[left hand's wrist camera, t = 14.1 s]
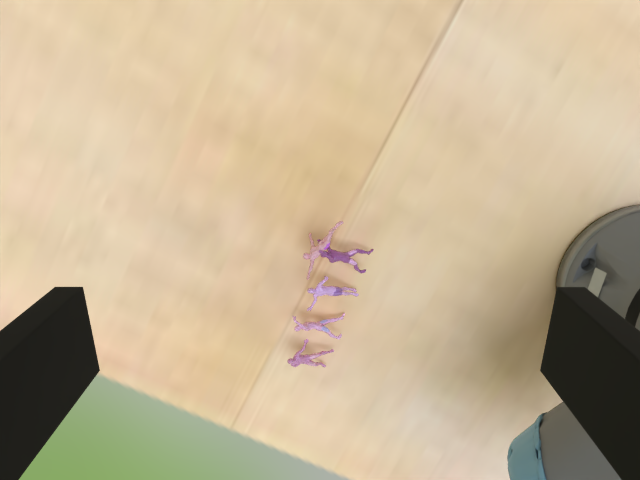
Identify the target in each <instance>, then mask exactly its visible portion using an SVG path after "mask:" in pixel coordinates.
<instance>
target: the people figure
mask: <svg viewBox="0 0 640 480" xmlns="http://www.w3.org/2000/svg"><path fill="white" fill-rule="evenodd" d="M341 224H343V221H340V222H338V223H337V224H336V226H335V227H333V228H332V229H331V230H330V231H329V234H328V235H327V236H326V237H324V239H322V240H317V241H319V242H318V243H319V245H318V246H314V242H313V239H312V238H311V233H309V238H310V242H311V249H310V254H307V253H304V254H303V258H304V259H310V262H311V263H310V267H309V271H308V275H307V280H308V279H309V277H310V272H311V270H312V268H313V264H314V259H316V258H317V257H318V256H319V255H321V257H327V258H328V259H329V261H330V262H331V263H333V262H336V261H343V262H344V263H349V264H351V265H354V268H355V270H357V271H358V272H360V273H364V272H366V269H365V270H359V268H358V266H357V262H356V261H354V260H353V259H351V258H349V257H351V256H353V255H354V254H356V253H367V254H370V253H371V252H372V251H373V249H371V250H370V251H368V252H367V251H364V250H361V249H355V250H351V251H349V252H345V253H343V252H338V251H336V250H332V249H330V239H331V237H332V234H333V232H334V231H335V229H336V228H337V227H338V226H340V225H341ZM326 249H327V250H328V252H326V251H324V250H326ZM327 280H328V277H327V276H325V279H324V280H323V281H321V282H320V283H318V285H317V287H316V288H315V289H313V288H309V289H308V293H314V294H313V297H314V301H313V303H312V305H311V307H309V308H308V309H307V311H308V310H310V309H312V307H313V305H314V304H315V303H316V301H317V296H322V295H329V296H339V295H350V294H352V295H354V296H358V295H359V294H357V293H352V292H351V293H350V292H344V291H343V290H352V291H354V292H356V289H354V288H347V287H343V288H340V287H335V286H323V285H322V284H323V283H325V282H326V281H327ZM310 311H311V310H310ZM344 314H345V313H343V315H342V316H341V317H340V318H332V319H325V320H322V321H318V322H305V323H303V324H301V323H299V322H298V321H296V320H295V319H296V316H295V317H294V316H293V320H294V321H295V322H296V323H297V324H298V325H297V326H296V327H295V331H299V330H300V329H303V330H306V331H308V330H310V329H313V328H314V329H316V330H318V331H324V332H326V333H328V334H329V336H330V337H333V338H336V339H340V338H341V334H340V335H339V336H338V337H336V336H335V335H333V334H332V333H331V332H330V330H329V329H328V328H327V327H325V326H324V325H325V324H327V323H330V322H335V321H337V320H340V319H341V320H343V317H344ZM304 342H305V344H304V346H303V347H302V349H301V350H300V351H298V352H297V353H296V354H295V355H294V357H293V359H291V358H290V359H288V363H289V364H291V366H293V367H297V366H298V365H299V364H301V363H303V364H307V365H310V366H318V365H320V364H321V365H322V366H323V367H326V365H324V364H323V363H321V362H320V363H318V362H316V363H315V362H313V361H312V360H311V359H315V358H317V357H319V356H321V355H324V354H326V353H331V352H334V350H333V349H331V350H330V351H321V352H320V353H314V354H310V355H301V354H300V353H302V352H303V351H304V349H305V346H306V344H307V342H308V339H306V341H305V340H304Z"/></svg>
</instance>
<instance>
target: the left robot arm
mask: <svg viewBox="0 0 640 480" xmlns="http://www.w3.org/2000/svg"><path fill="white" fill-rule="evenodd" d="M99 371H100V369H99V364H98V360H97V355H96V350H95V345H94V340H93V335H92V330H91V325H90V320H89V315H88V310H87V305H86V300H85V295H84V290H83V287H54V288H53V289H52V290H51V291H50V292H48V293H47V294H46V295H45V296H43V297H42V298H41V299H40V300H38V301H37V302H36V303H35V304H33V305H32V306H31V307H30V308H28V309H27V310H26V311H25V312H23V313H22V314H21V315H20V316H18V317H17V318H16V319H15V320H13V321H12V322H11V323H10V324H8V325H7V326H6V327H5V328H3V329H2V330H1V331H0V480H19V478H20V477H21V475H22V474H23V473H24V471H25V470H26V469H27V467H28V466H29V465H30V463H31V462H32V461H33V459H34V458H35V457H36V455H37V454H38V453H39V451H40V450H41V449H42V447H43V446H44V445H45V443H46V442H47V441H48V439H49V438H50V437H51V435H52V434H53V433H54V431H55V430H56V429H57V427H58V426H59V425H60V423H61V422H62V420H63V419H64V418H65V416H66V415H67V414H68V412H69V411H70V410H71V408H72V407H73V406H74V404H75V403H76V402H77V400H78V399H79V398H80V396H81V395H82V394H83V392H84V391H85V389H86V388H87V387H88V386H89V384H90V383H91V382H92V380H93V379H94V377H95V376H96V375H97V373H98V372H99ZM540 371H541V372H542V373H543V375H544V376H545V377H546V379H547V380H548V382H549V383H550V384H551V386H552V387H553V388H554V390H555V391H556V392H557V394H558V395H559V396H560V398H561V399H562V400H563V402H562V403H561V404H559V405H558V406H556V407H555V408H553V409H552V410H550V411H549V412H546V413H543V414H541V415H540V416H539V417H538V418H537V420H536V421H535V423H533V424H532V425H531V426H530V427H529V428H527V429H526V430H525V431H524V432H522V433H521V434H520V435H518V436H517V437H516V438H515V439H514V440H513V441H512V443H511V445H510V447H509V450H508V471H509V476H510V480H640V205H635V206H630V207H626V208H622V209H619V210H616V211H614V212H611V213H609V214H607V215H605V216H603V217H602V218H600V219H598V220H597V221H595V222H594V223H592V224H591V225H590V226H588V227H587V228H586V229H585V230H584V231H583V232H582V233H581V234H580V235H579V236H578V237H577V238H576V239H575V240H574V241H573V243H572V244H571V245H570V247H569V248H568V250H567V251H566V253H565V255H564V257H563V259H562V261H561V264H560V267H559V270H558V275H557V282H556V295H555V300H554V305H553V310H552V315H551V320H550V325H549V330H548V335H547V340H546V345H545V350H544V355H543V360H542V364H541V369H540Z"/></svg>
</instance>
